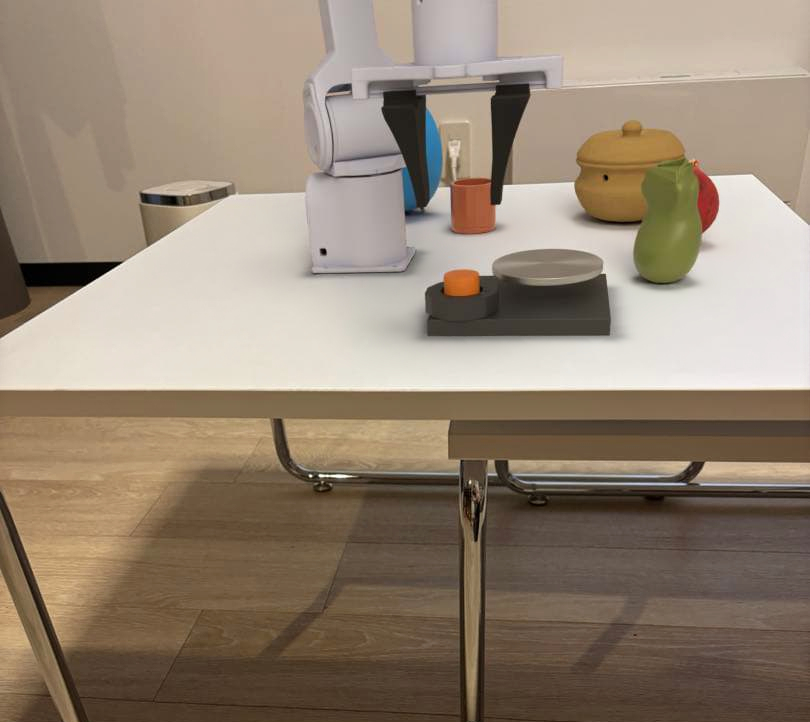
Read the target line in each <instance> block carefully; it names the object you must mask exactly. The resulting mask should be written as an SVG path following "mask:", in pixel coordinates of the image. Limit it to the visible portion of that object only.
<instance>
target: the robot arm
mask: <svg viewBox="0 0 810 722" xmlns="http://www.w3.org/2000/svg"><path fill="white" fill-rule="evenodd" d="M317 1H318V8H319V15H320V22H321V29H322V35H323V42H324V48H325V56H324V57H323V59H322V60H321V61H320V62H319V63H318V64H317V65H316V66H315V67H314V69H313V70H312V71H311V72H310V73H309V74H308V76H307V77H306V79H305V80H304V84H303V88H302V92H301V93H302V102H303V123H304V124H303V126H304V127H303V128H304V136H305V141H306V146H307V150H308V153H309V156H310V159H311V161H312V162H313V164H314V165H315V166H317V168H318V169H319V170H320V171H319V172H313V173H310V174H309V175H308V177H307V179H306V184H305V198H304V199H305V212H306V219H307V227H308V238H309V245H310V253H311V261H312V267H311V273H313V274H339V273H341V274H344V273H348V274H349V273H395V272H396V273H397V272H398V273H399V272H404V271H405V270H406V269H407V267H408V265H409V264H410V262H411V260H412V259H413V257H414V255H415V254H416V252H417V247H415V246H407V231H406V230H407V229H406V213H405V212H406V211H405V212H404V196H403V179H402V168H404V167H407V170H408V173H409V176H410V179H411V182H412V186H413V190H414V194H415V199H416V206H417V207H424V208H427V206H428V205H429V203H430V201H431V200H430V187H429V177H428V167H427V158H426V107H427V96H430V95H450V94H466V93H485V92H494V94H493V95H492V96H491V97H490V121H491V122H490V123H491V155H492V156H491V174H490V178H491V187H490V201H491V205H496V206H501V205H502V200H503V191H504V184H505V176H506V171H507V167H508V162H509V158H510V155H511V152H512V148H513V146H514V145H513V144H514V141H515V138H516V135H517V133H518V129H519V127H520V124H521V120H522V118H523V115H524V113H525V111H526V107H527V106H528V103H529V101H530V99H531V95H532V93H531V90H537V89H538V90H539V89H545V90H558V89H560V90H561V89H562V88H563V78H564V76H563V75H564V54H563V53H557V54H538V55H514V56H513V55H512V56H499V55H498V53H499V48H498V45H499V44H498V39H499V37H498V31H499V30H498V29H499V27H498V26H499V25H498V24H499V23H498V0H410V5H411V8H410V9H411V26H412V27H411V28H412V45H413V47H412V48H413V62H403V63H399V62H397V61H396V60H395V59H394V58H393V57H391V56H389V55H388V54H387V53H386V52H384V51H383V50H382V49H381V48H380V47H379V43H378V34H377V27H376V20H375V19H376V18H375V12H374V5H373V0H317ZM476 77H478V78H479V77H482V81H483V82H476V83H459V84H458V83H457V84H441V85H428V84H430V83H431V81H432V80H455V79H466V78H468V79H469V78H476ZM414 86H419V87H414ZM350 91H352V93H351V94H349V93H345V92H350ZM335 93H343V94H335ZM328 94H334V95H328ZM321 171H322V172H321Z"/></svg>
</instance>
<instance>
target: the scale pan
mask: <svg viewBox="0 0 810 722" xmlns="http://www.w3.org/2000/svg"><path fill="white" fill-rule="evenodd" d="M603 271H604V260H603V259H602V257H600V256H598V255H597V254H594V253H591V252H588V251H583V250H578V249H570V248H569V249H568V248H537V249H536V248H535V249H527V250H521V251H516V252H511V253H508V254H506V255H505V254H504V255H502V256H500V257H498V258H497V259H495V260H494V261H493V262H492V266H491V273H492V275H494V276H495V277H496V278H498V279H500V280H502V281H505V282H509V283H513V284H519V285H529V286H557V285H567V284H573V283H578V282H583V281H586V280H589V279H592V278H594V277H596V276H598V275H599V274H602V272H603Z"/></svg>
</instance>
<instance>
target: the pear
mask: <svg viewBox="0 0 810 722" xmlns="http://www.w3.org/2000/svg"><path fill="white" fill-rule="evenodd" d="M688 161H689V160H688V158H687V157H685V158H684V159H682V160H681V159H680V160H678V161H670V160H664V161H662V162H661V163H660V164H658V165H657V166H656V167H652V168H651V169H649V170H646V172H645V178H644V180H643V182H642V185H641V191H642V194H643V196H644V198H645V200H646V202H647V210H646V214H645V217H644V219H643V220H641V223H640V225H639V228H638V230H637V233H636V236H635V239H634V243H633V249H632V259H633V264H634V267H635V269H636V271H637V272H638V274H639V275H640V276H641V277H642V278H644V279H645V280H647V281H649V282H653V283H656V284H670V283H673V282H676V281H679V280H681V279H683V278H684V277H685V276H686V275H688V273H689V272H690V271H691V270H692V268H693V267H694V266H695V264H696V261H697V259H698V256H699V253H700V249H701V245H702V238H703V234H702V224H701V219H700V215H699V212H698V207H697V201H698V195H699V184H698V177H697V175H696V174H695V173H693V166H694V164H693V162H690V163H689V162H688Z"/></svg>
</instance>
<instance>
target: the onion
mask: <svg viewBox="0 0 810 722" xmlns="http://www.w3.org/2000/svg"><path fill="white" fill-rule="evenodd" d="M688 162H689V163H690V162H693V164H694V166H693V173H695V174H696V175H697V177H698V184H699V195H698V201H697V207H698V212H699V215H700V219H701V224H702V235H703V234H705V232H706V231H708V230H709V229H710V228H711V226H712V225H713V223H714V222H715V221H716V219H717V216H718V214H719V211H720V210H719V209H720V195H719V191H718V188H717V186H716V185H715V183H714V181H713V180H712V179H711V177H709V176H708V175H707V174H706V173H705V172H703V171H702V170H701V169H700V167H699V165H700V162H699V161H698V160H697V159H696V158H690V159H689V160H688Z"/></svg>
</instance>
